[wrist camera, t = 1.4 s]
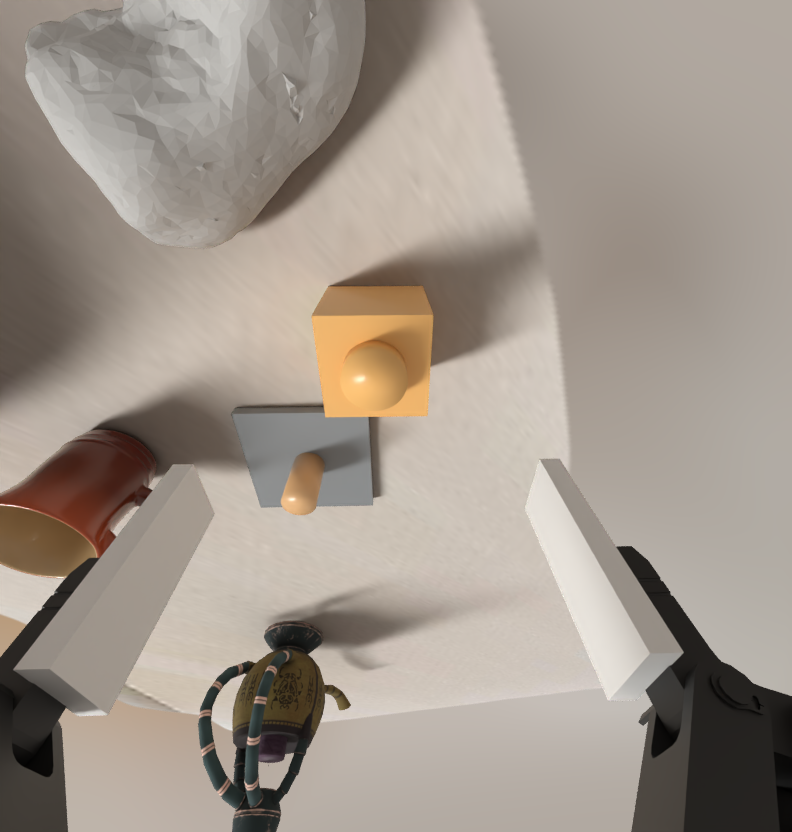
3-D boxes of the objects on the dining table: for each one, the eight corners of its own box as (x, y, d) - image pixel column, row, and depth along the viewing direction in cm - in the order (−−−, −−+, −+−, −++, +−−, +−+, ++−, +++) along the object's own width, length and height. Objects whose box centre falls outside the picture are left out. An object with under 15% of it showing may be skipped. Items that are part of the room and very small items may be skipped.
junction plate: (235, 407, 31) (206, 450, 26) (368, 406, 31) (365, 447, 26) (263, 500, 38) (245, 548, 33) (373, 498, 38) (371, 545, 33)
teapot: (289, 599, 49) (227, 868, 30) (377, 664, 61) (373, 883, 42) (225, 621, 52) (129, 879, 33) (321, 679, 64) (293, 890, 45)
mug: (68, 468, 35) (-35, 560, 26) (72, 402, 31) (-50, 487, 22) (193, 506, 38) (137, 598, 30) (211, 451, 34) (153, 541, 25)
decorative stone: (203, 297, 23) (5, 220, 14) (139, 178, 24) (-90, 27, 14) (422, 117, 19) (364, -170, 10) (336, -15, 20) (204, -399, 11)
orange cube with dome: (328, 286, 26) (306, 325, 18) (422, 285, 26) (436, 324, 19) (337, 371, 29) (321, 431, 22) (419, 370, 30) (429, 429, 22)
